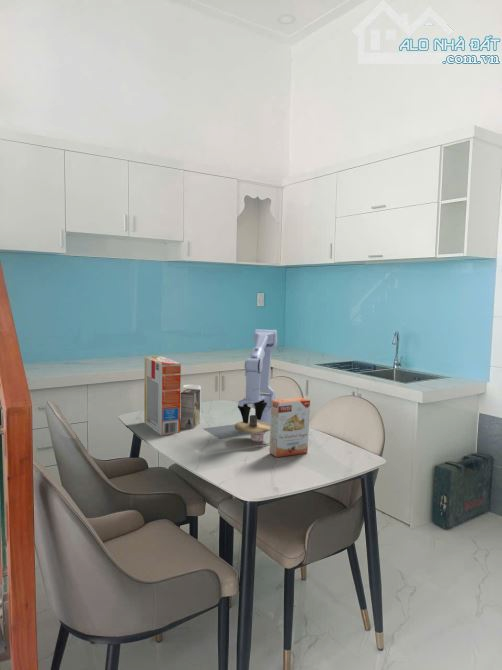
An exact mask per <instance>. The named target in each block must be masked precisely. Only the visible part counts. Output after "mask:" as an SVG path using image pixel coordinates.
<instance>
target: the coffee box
mask: <svg viewBox="0 0 502 670" xmlns="http://www.w3.org/2000/svg"><path fill="white" fill-rule="evenodd" d="M200 421H201V412H200V390H195V389H187V390H185V391H183V390H182V392H180V429H182V428H183V429H192V430H193V429H195V428H196V427H197V426H199V425H200V424H201V422H200Z"/></svg>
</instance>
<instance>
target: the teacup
mask: <svg viewBox="0 0 502 670" xmlns="http://www.w3.org/2000/svg"><path fill="white" fill-rule="evenodd" d="M265 434H266V432H263V433H251V434H250V441H252V442H253V443H261V442H263V441H264V440H265V438H266V437H265ZM248 438H249V437H248ZM248 438H247V439H248ZM243 442H244V440H243ZM244 443H245V442H244ZM266 446H270V442H269V443H264V444H259V445H257V444H256V447H266Z"/></svg>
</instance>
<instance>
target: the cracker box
mask: <svg viewBox="0 0 502 670" xmlns="http://www.w3.org/2000/svg"><path fill="white" fill-rule="evenodd" d="M310 407H311V400H310V399H308V398H305V397H291V398H278V399H276V398H275V400H272V406H271V429H270V431H269V432H270V433H269V436H270V437H269V443H270V445H269V454H270V455H272V456H274V457H275V458H281V457H288V456H294V455H295V456H296V455H303V454H308V450H309V449H308V447H309V431H310V429H309V428H310V427H309V426H310V412H311V411H310V410H311V408H310Z"/></svg>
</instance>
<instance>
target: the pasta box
mask: <svg viewBox="0 0 502 670" xmlns="http://www.w3.org/2000/svg"><path fill="white" fill-rule="evenodd" d="M181 365H182V364H181V362H178V361H175V360H174V359H170V358H167V357H165V356H160V355H159V356H145V357H144V394H143V395H144V396H143V400H144V407H143V408H144V412H143V413H144V415H143V416H144V419H143V420H144V421H143V422H145V423H144V424H146V425H147V426H148V427H150V428H151V430H152V429H153V431H155V432H156V433H157V434H159V436H161V437H163V436H171V435H174V434H178V433H181V428H180V425H181V422H180V421H181V383H182V382H181V378H182V377H181V376H182V375H181V374H182V373H181V371H182V370H181Z"/></svg>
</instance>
